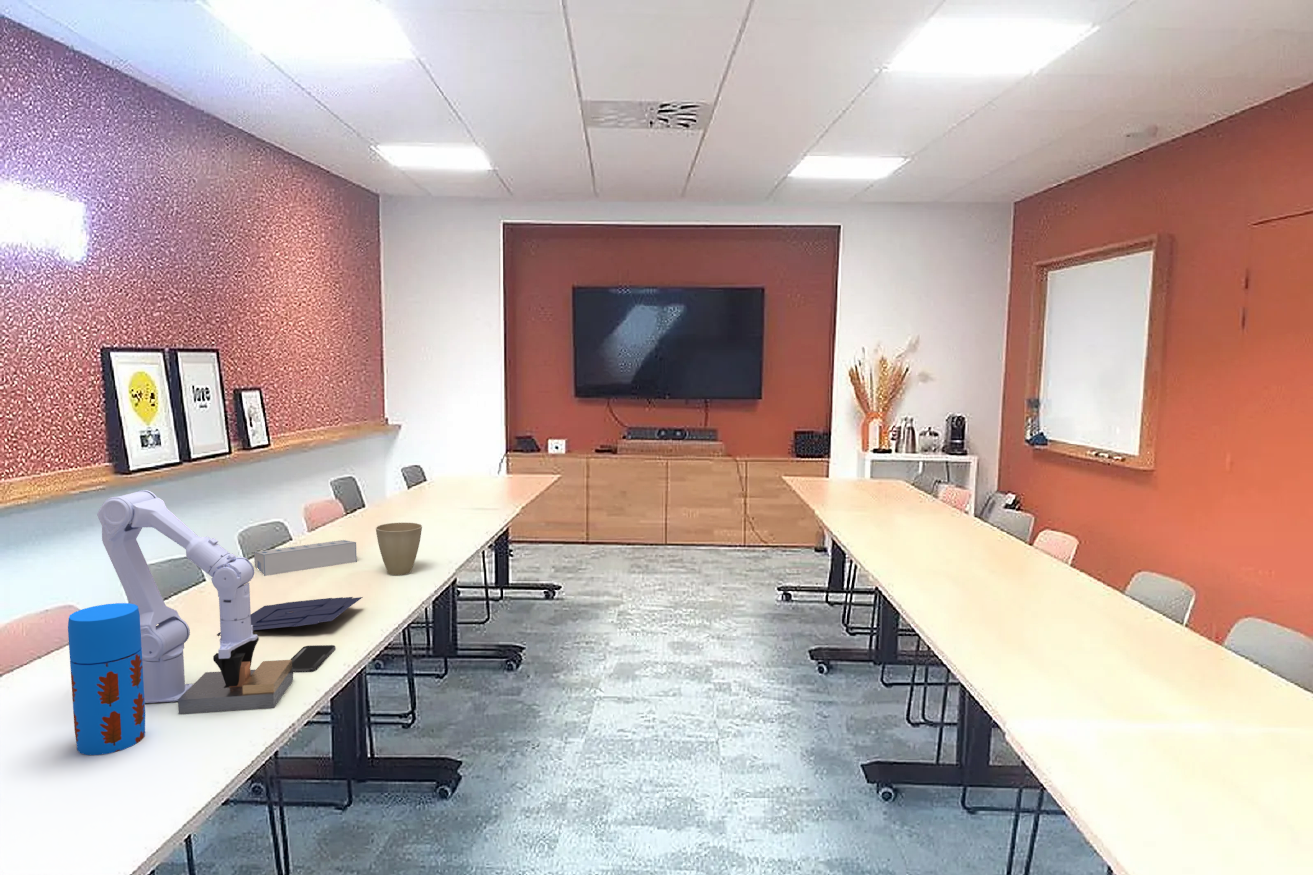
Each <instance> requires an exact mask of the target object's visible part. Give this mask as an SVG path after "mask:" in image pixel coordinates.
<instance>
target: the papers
mask: <svg viewBox="0 0 1313 875" xmlns="http://www.w3.org/2000/svg"><path fill="white" fill-rule="evenodd" d="M363 597H364V596H362V597H361V596H359V597H353V596H349V597H329V598H328V597H327V598H318V599H309V600H297V601H287V602H282V603H276V604H268V605H267V604H266V605H263V606H262V607H260V608H258V609H257V610H256V611H254V612H253V613H252V612H251V625H253V631H260V630H270V629H279V628H291V627H293V628H295V627H301V626H306V625H307V626H309V625H318V624H319V623H323V622H324V623H326V622H332V621H333V620H335V619H336V618H338V617H339V616H340V615H341V614H342V613H344V612H345V611H347V609H349V608H350V607H352V606H353V605H355V604H356V603H358V602H359V601H360V600H361V599H363ZM217 635H221V631H219V632H218V633H217Z"/></svg>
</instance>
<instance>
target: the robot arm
mask: <svg viewBox="0 0 1313 875" xmlns="http://www.w3.org/2000/svg"><path fill="white" fill-rule="evenodd" d="M96 515H97V516H96V517H98V520H99V522H100V524H101V541H102V544H103V546H104V549H105V551H106V553H107V555H108V557H109V559H110V562H111V564H112V566H113V569H114V570H115V573H116V575H117V577H118V580H119V581H120V583H121V586H122V588H123V590H124V593H125V594H126V597H127V600H128V603H129V604H135V605H137V606H138V609H139V614H140V628H141V647H142V663H143V681H144V699H145V704H152V703H169V702H170V703H171V702H178V699H179V698H180V697H181V696H182V695H183V694H184V693H185V692H186V691H187V690H188V689H189V688H190V687H191V686H192V685H193V684H194V683H186V680H185V678H186V676H185V659H184V658H185V657H184V649H185V643H186V642H187V641H188V640H189V638H190V635H191V634H190V633H191V632H190V626H189V625H188V623H187V622H186V621H185V620H184V619H183V618H182V617H181V616H180V615H179V613H178V611H177V610H176V609H174V608H171V607H169V606H167V605H166V603H165V600H164V598H163V597H162V594H161V592H160V590H159V588H158V585H157V583H156V581H155V578H154V576H153V573H152V572H151V569H150V567H149V565H148V563H147V561H146V558H145V556H144V553H143V551H142V549H141V547H140V544H139V543H138V540H137V538H138V536H139V534H140V532H141V531H142V529H144V528H152V529H155V530H156V531H158V532H159V533H161V534H162V535H164V536H166V538H168V539H170V540H171V541H173V542H174V543H176V544H177V545H178V546H180V547H181V548H183V549H184V550H185V553H186V554H185V555H186V559H188V560H189V561H191V563H193V564H194V565H196V566H197V567H198V568H199V569H200V570H202V571H203V572H205V574H207V575H208V576H210V579H211V583H212V586H213V587H214V588H215V589H216V591H217V597H218V602H219V603H218V604H219V624H220V625H219V626H220V628H219V630H220V631H219V632H221V634H220V639H219V648H218V652H216V653H214V655H213V656H212V657H213V662H214V663H215V664H216V665H217V667H218V669H219V670H220V672H221V673H222V675H223V678H224V681H225V684H226V686H237V685H238V682H239V676H240V667H241V663H242V662H249V661H250V668H251V667H252V663H253V662H252V660H253V656H254V652H255V650H256V646H257V644H258V642H259V640H260V638H259V636H258V634H254V630H253V625H251V614H252V611H251V593H250V592H251V588H250V581H252V579H253V578H254V575H255V566H254V564H252V562H251V561H250V560H249V559H248V558H247V557H243V556H236V555H235V554H234V553H231V552H229V551H228V550H227V549H225V548H224V547H222V546H221V545H220V544H219V540H217V539H216V538H215V537H213V538H212V537H210V536H199V535H198V534H196V533H195V532H194V531H193V530H192V529H191V528H190V527H189V526H188V525H186V524H185V523H184V522H183V521H182V520H180V518H178V517H177V516H176V515H175V514H174V513H173V512H172V511H171V510H169V509H168V507H167V506H166V503H165V501H164V500H163V499H161V498H160V497H158V496H157V495H156V494H155V493H154V492H152V491H150V490H146V489H142V490H137V491H135V492H132V493H131V492H130V493H127V494H123V495H119V496H111V497H109V498H107V499H105V501H104V502H103V503H102V505H100V509H99V510H98V512H97V513H96Z"/></svg>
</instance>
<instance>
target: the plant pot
mask: <svg viewBox="0 0 1313 875" xmlns="http://www.w3.org/2000/svg"><path fill="white" fill-rule="evenodd" d="M422 528H423V525H422V524H420V523H417V522H391V523H384V524H380V525H377V526H376V527H375V532H376V534H375V535H376V538H377V544H378V547H379V552H380V554H381V559H382V561H383V564H384V566H385V570H386V572H387V574H388V575H390V576H405V575H410V574H411V572H412V569H413V567H414V565H415V561H416V558H417V554H418V552H419V547H420V542H421V538H422V537H421V536H422Z"/></svg>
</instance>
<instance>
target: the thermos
mask: <svg viewBox="0 0 1313 875" xmlns="http://www.w3.org/2000/svg"><path fill="white" fill-rule="evenodd" d="M67 622H68V623H67V636H68V650H69V666H70V668H69V669H70V678H71V680H70V681H71V694H72V697H71V698H72V710H73V726H74V738H75V743H76V744H75V745H76V750H77V752H78V753H79V754H81V755H85V756H99V755H100V756H101V755H107V754H111V753H116V752H120V751H123V750H125V749H128V748H130V747H132V746H134V745H136V744H138V743H139V742H141V741H142V740H143V739H144V738H145V736H146V703H145V699H144V681H143V663H142V647H141V628H140V614H139V609H138V606H137V605H135V604H130V602H128V603H127V602H126V603H125V602H121V603H120V602H118V603H117V602H116V603H106V604H100V605H99V604H98V605H95V606H90V607H86V608H83V609H79V610H77V611H74V612H73V613H71V614H69V616H68V621H67Z"/></svg>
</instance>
